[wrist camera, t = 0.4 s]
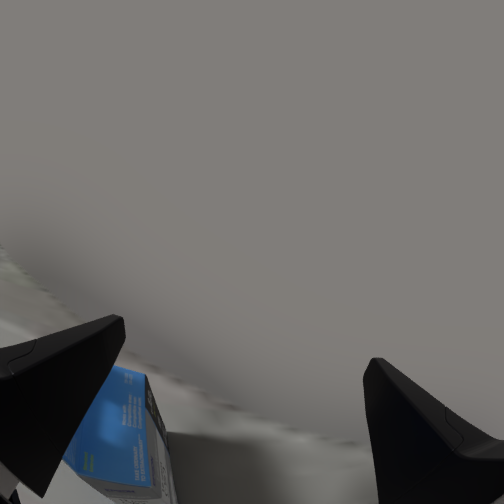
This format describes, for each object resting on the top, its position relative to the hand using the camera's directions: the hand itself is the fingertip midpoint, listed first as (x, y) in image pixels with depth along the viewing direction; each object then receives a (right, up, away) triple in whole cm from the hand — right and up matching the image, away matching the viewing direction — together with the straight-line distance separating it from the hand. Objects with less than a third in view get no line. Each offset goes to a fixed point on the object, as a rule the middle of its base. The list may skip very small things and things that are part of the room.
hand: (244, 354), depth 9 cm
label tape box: (-8, -14, +7) cm, 18 cm away
